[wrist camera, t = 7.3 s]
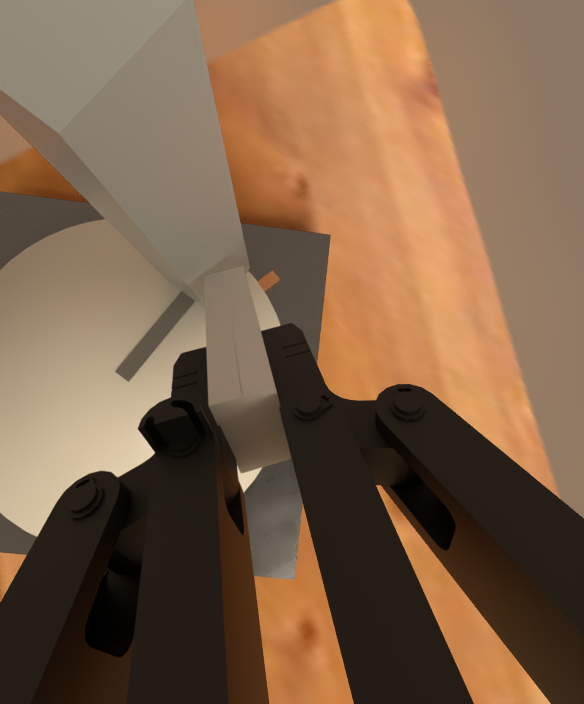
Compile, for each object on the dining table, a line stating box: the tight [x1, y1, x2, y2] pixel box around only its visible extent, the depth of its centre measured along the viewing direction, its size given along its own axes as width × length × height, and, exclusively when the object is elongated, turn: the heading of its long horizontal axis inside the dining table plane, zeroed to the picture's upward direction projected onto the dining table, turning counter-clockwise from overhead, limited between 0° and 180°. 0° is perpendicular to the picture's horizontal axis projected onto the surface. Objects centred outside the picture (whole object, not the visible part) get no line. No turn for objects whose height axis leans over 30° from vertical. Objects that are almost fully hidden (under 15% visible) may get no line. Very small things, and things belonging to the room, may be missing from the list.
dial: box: [0, 0, 280, 537], centre depth 11 cm, size 16×16×14 cm
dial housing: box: [0, 192, 331, 580], centre depth 20 cm, size 19×19×3 cm
